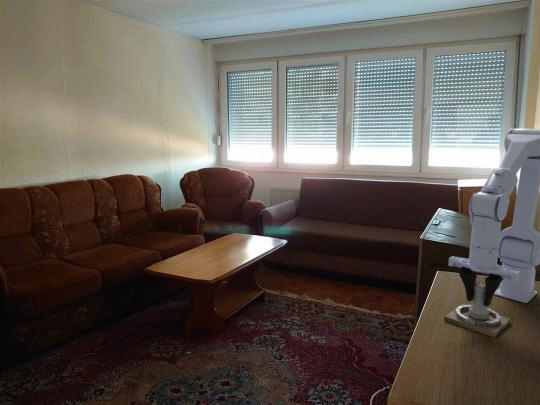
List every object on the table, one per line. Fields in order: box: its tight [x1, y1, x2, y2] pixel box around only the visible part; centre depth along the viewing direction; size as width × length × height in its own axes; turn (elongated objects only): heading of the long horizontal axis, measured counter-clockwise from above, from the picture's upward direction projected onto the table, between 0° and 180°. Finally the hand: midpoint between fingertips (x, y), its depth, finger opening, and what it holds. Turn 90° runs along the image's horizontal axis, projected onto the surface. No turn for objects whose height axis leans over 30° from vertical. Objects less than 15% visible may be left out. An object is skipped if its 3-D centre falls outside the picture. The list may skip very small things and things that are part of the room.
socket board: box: [443, 303, 512, 338], centre depth 98 cm, size 10×11×2 cm
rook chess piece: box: [468, 281, 489, 320], centre depth 98 cm, size 4×4×8 cm
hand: (478, 302), depth 97 cm, fingers closed on rook chess piece, 3 cm apart
